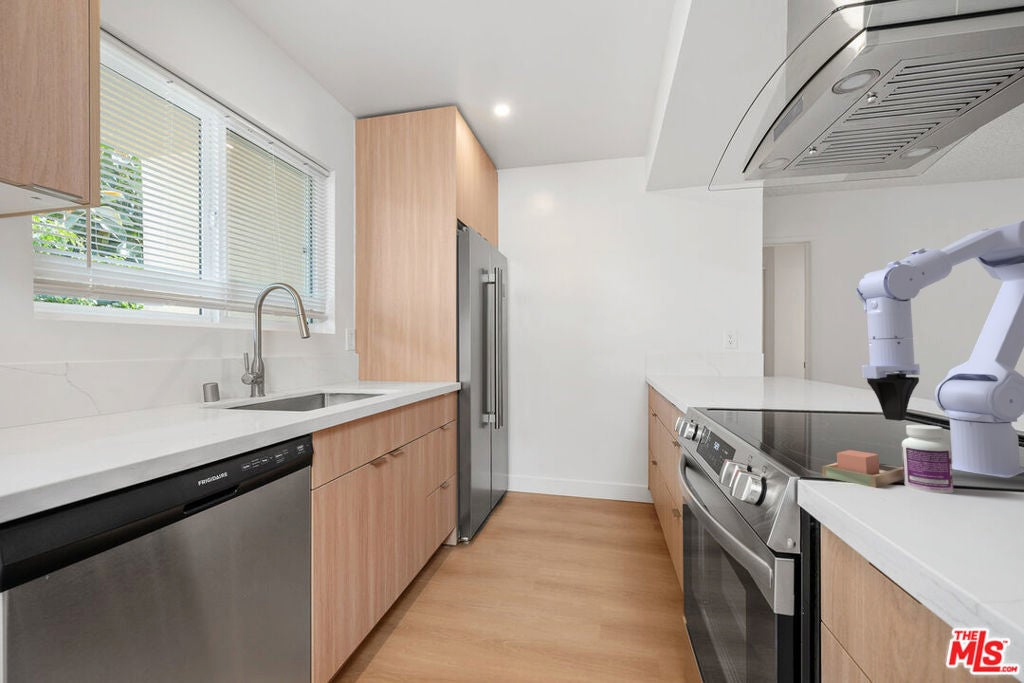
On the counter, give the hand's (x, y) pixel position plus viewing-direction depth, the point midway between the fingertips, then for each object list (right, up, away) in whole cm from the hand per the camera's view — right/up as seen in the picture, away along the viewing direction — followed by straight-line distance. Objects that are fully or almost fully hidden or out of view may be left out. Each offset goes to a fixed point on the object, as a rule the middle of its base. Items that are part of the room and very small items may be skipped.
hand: (894, 419), depth 73 cm
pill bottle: (-2, -9, -8) cm, 13 cm away
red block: (-9, -9, -3) cm, 13 cm away
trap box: (-4, -10, -1) cm, 10 cm away
